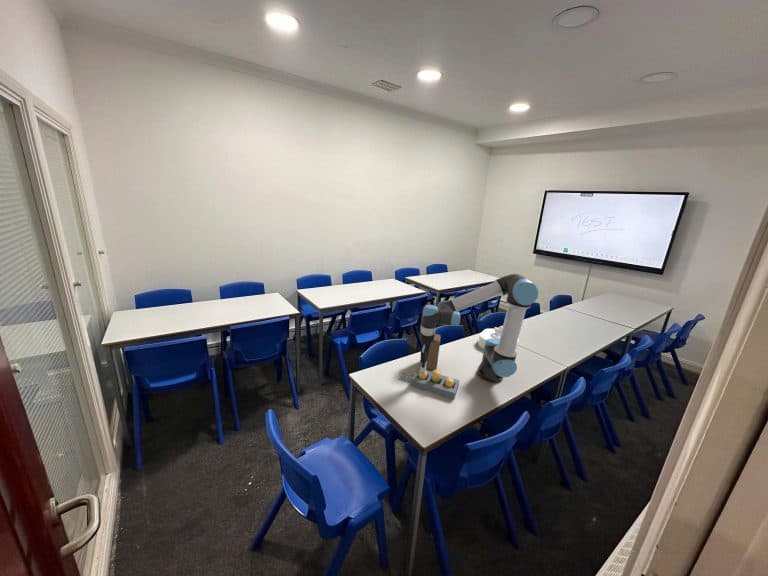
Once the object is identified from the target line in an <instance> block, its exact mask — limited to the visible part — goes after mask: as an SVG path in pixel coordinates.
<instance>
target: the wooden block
mask: <svg viewBox="0 0 768 576" xmlns="http://www.w3.org/2000/svg"><path fill="white" fill-rule="evenodd" d="M440 344H441V334H438V333H437V334H436V333H435V334H434V341H433V342H431V345H430V350H429V356H428V358H427V359H428V361H427V365H426V370H432V371H433V370H438V361H439V356H440V355H439V353H440V346H441V345H440ZM419 367H421V364H420V366H419Z"/></svg>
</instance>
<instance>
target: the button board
mask: <svg viewBox="0 0 768 576" xmlns="http://www.w3.org/2000/svg"><path fill="white" fill-rule="evenodd" d="M419 370H421V368H418V369H417V370H416V372H415V373H414V377H413V378H412V380H411V383H410V387H413V388H414V389H418V390H422V391H424V392H429V393H431V394H436V395H438V396H441V397H444V398H448V399H451V400H455V399H456V395H457V392H458V390H459V386H460V379H457V378H453V377H450V376H446V375H442V374H441V376H440V381H439V382H433V381H432V372H433V371H429V370H426V371H427V380H423V379H419V378H418V377H419ZM448 377H449V378H452V379H454V385H453V388H450V387H446V386H445V379H446V378H448Z"/></svg>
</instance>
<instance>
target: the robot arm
mask: <svg viewBox="0 0 768 576" xmlns="http://www.w3.org/2000/svg"><path fill="white" fill-rule="evenodd" d="M506 295H507V296H506ZM498 296H501V297H504V296H506V300H505V301H506V303H507V310H506V313H505V317H504V320H503V321H504V322H503V325H502V326H503V328H502V332H501V336H500V339H494V338H490V339H487V340H486V342H485V346H484V349H483V353H482V357H481V358H482V360H481V361H480V364H479V365H478V367H477V370H476V374H477V375H478V377H479V378H480V379H482V380H485V381H487V382H491V383H499V382H502V381H503V380H504V378H508V377H510V376H513V375H515V373H516V372H517V370H518V367H517V363H516V359H517V355H518V354H517V353H518V352H517V350H516V351H515V347H516V344H517V340H518V338H519V337H520V333H521V329H522V326H523V322H524V319H525V315H526V311H527V310H529V309H530V308H531V305H532V304H533V303H535V302H536V301H537V299H538V297H539V289H538V287H537V285H536V284H535V283H534V282H533V281H532V280H530V279H528V278H526V277H525V276H524V275H523V274H519V273H511V274H507V275H504V276H502V277H499V278H497V279H495V280H493V282H492V283H489V284H486V285H484V286H482V287H479V288H477V289H475V290H472V291H470V292H467V293H465V294H462V295H460V296H457V297H455V298H453V299H450V300H441V301H439V303H438V304H437V305H433V304H426V305H424V306H423V309H422V310H423V311H422V317H421V325H420V327H419V328H420V334H419V335H420V337H419V339H420V341H422V343H421V348H420V360H419V362H420V365H421V366H420V369H421V370H420V371H421V372H424V373H425V372H426V371H427V369H426V365H427V361H428V359H427V358H428V356H429V350H430V345H431V342H433V341H434V334H436V325H442V326H443V325H444V326H450V327H454V326H457V327H458V326H459V325H460V323H461V313H460V311H462V310H465V309H468V308H469V307H473V306H475V305H478V304H479V303H483V302H486V301H488V300H491V299H493V298H495V297H498Z"/></svg>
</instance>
